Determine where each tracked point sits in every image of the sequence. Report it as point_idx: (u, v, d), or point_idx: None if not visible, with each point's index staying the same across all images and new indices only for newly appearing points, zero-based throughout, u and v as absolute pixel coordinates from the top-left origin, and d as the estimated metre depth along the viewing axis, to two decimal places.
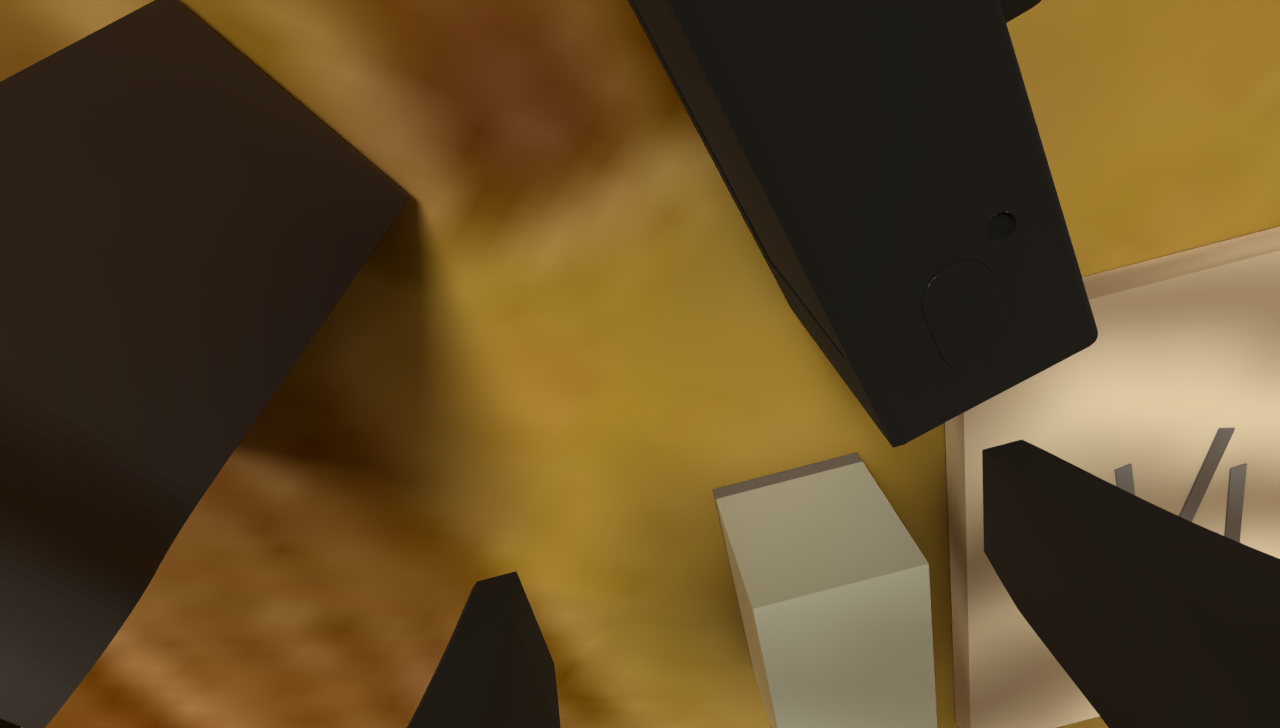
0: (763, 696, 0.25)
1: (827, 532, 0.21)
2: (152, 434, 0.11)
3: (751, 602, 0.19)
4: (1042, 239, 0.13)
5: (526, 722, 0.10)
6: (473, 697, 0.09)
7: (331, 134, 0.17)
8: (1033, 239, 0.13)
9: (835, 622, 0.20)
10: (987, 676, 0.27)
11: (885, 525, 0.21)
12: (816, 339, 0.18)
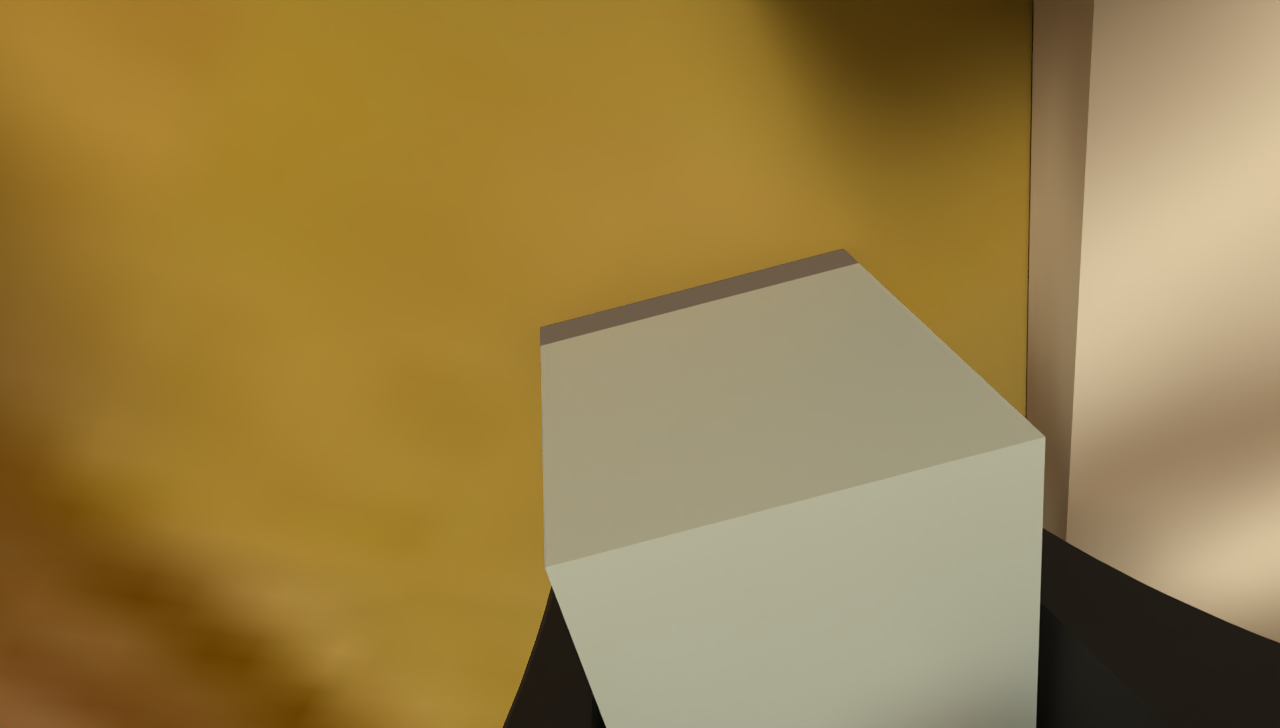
0: None
1: (771, 386, 0.08)
2: None
3: (547, 550, 0.07)
4: None
5: None
6: (580, 669, 0.09)
7: None
8: None
9: (785, 607, 0.07)
10: None
11: (916, 364, 0.08)
12: None
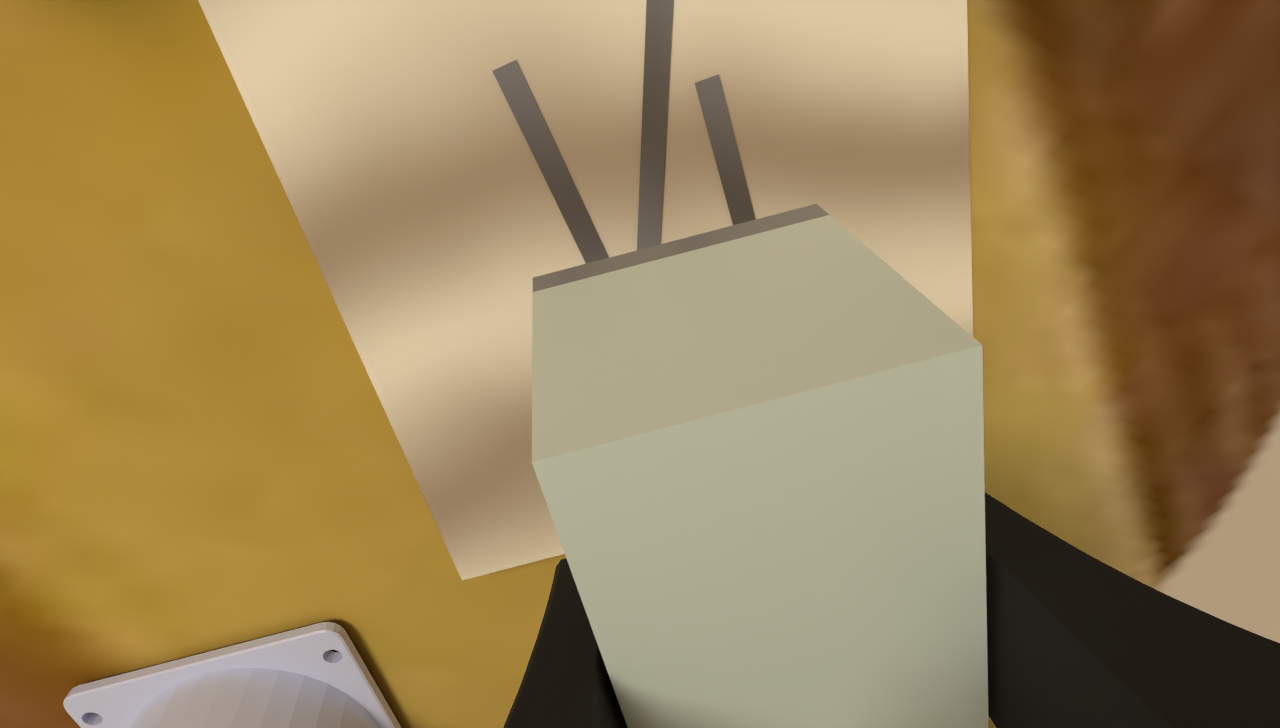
0: None
1: (742, 315, 0.09)
2: None
3: (534, 449, 0.08)
4: None
5: None
6: (581, 669, 0.09)
7: None
8: None
9: (750, 506, 0.08)
10: (434, 455, 0.19)
11: (873, 293, 0.09)
12: None
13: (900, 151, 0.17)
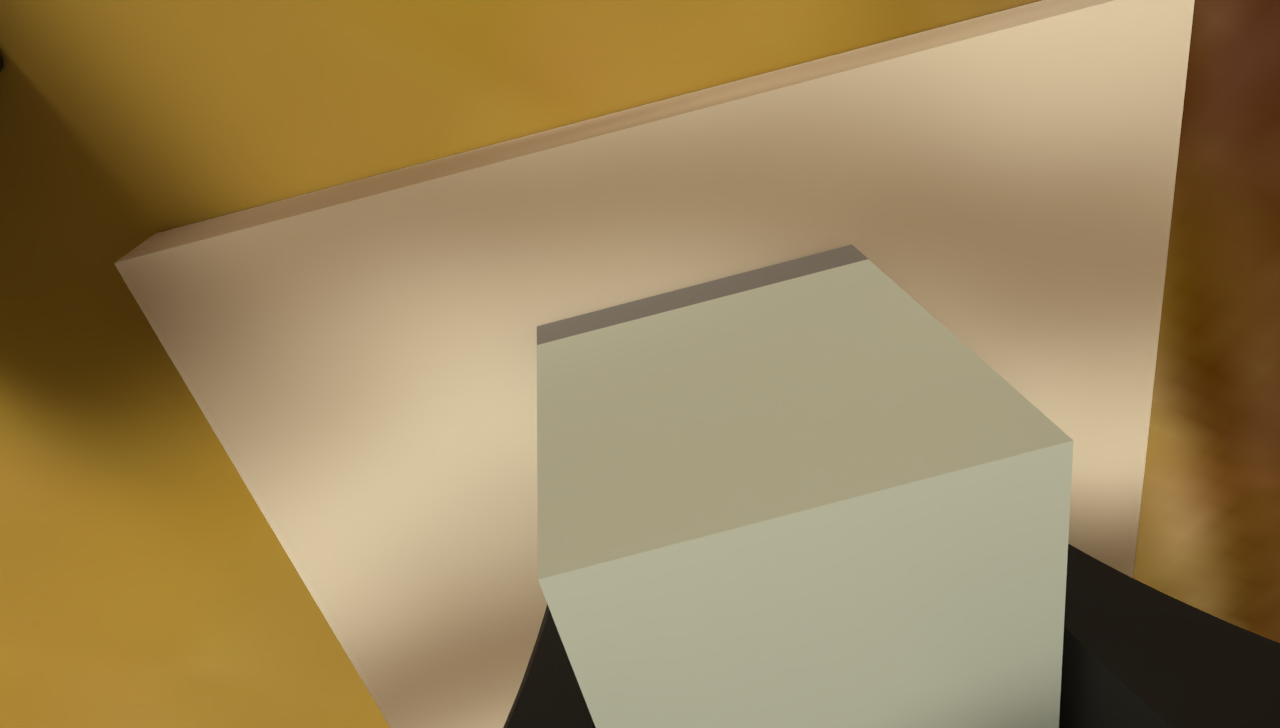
0: None
1: (778, 386, 0.08)
2: None
3: (540, 561, 0.07)
4: None
5: None
6: None
7: None
8: None
9: (794, 622, 0.07)
10: None
11: (931, 364, 0.08)
12: None
13: None
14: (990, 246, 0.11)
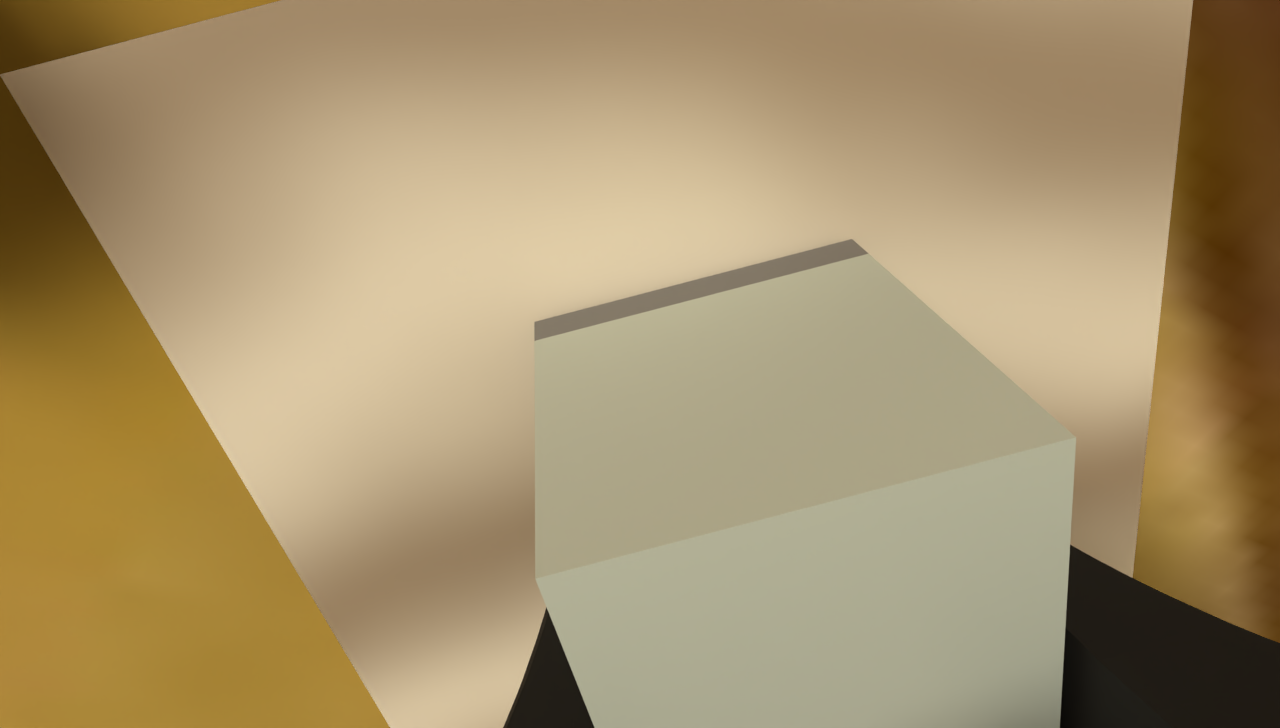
0: None
1: (777, 383, 0.08)
2: None
3: (538, 560, 0.06)
4: None
5: None
6: None
7: None
8: None
9: (794, 621, 0.07)
10: None
11: (932, 358, 0.08)
12: None
13: None
14: (986, 80, 0.10)
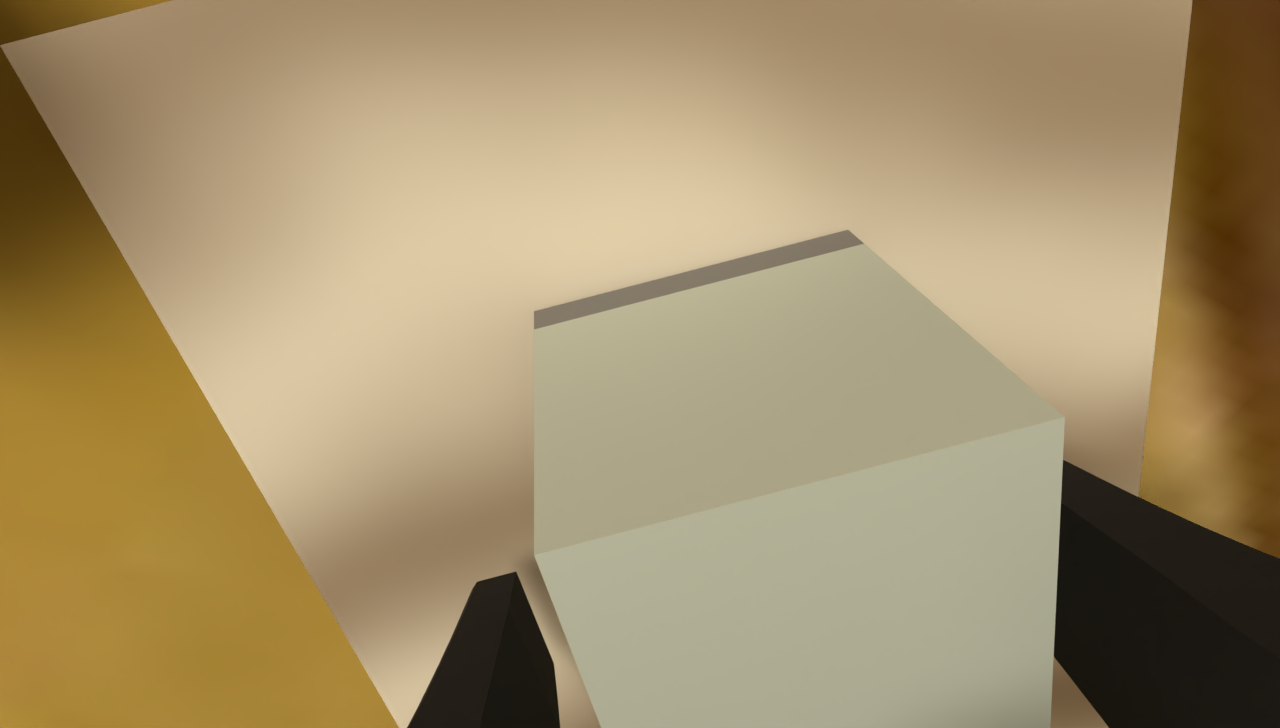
0: None
1: (772, 367, 0.08)
2: None
3: (536, 537, 0.07)
4: None
5: (526, 722, 0.10)
6: (473, 697, 0.09)
7: None
8: None
9: (788, 598, 0.07)
10: None
11: (926, 344, 0.08)
12: None
13: None
14: (987, 58, 0.10)
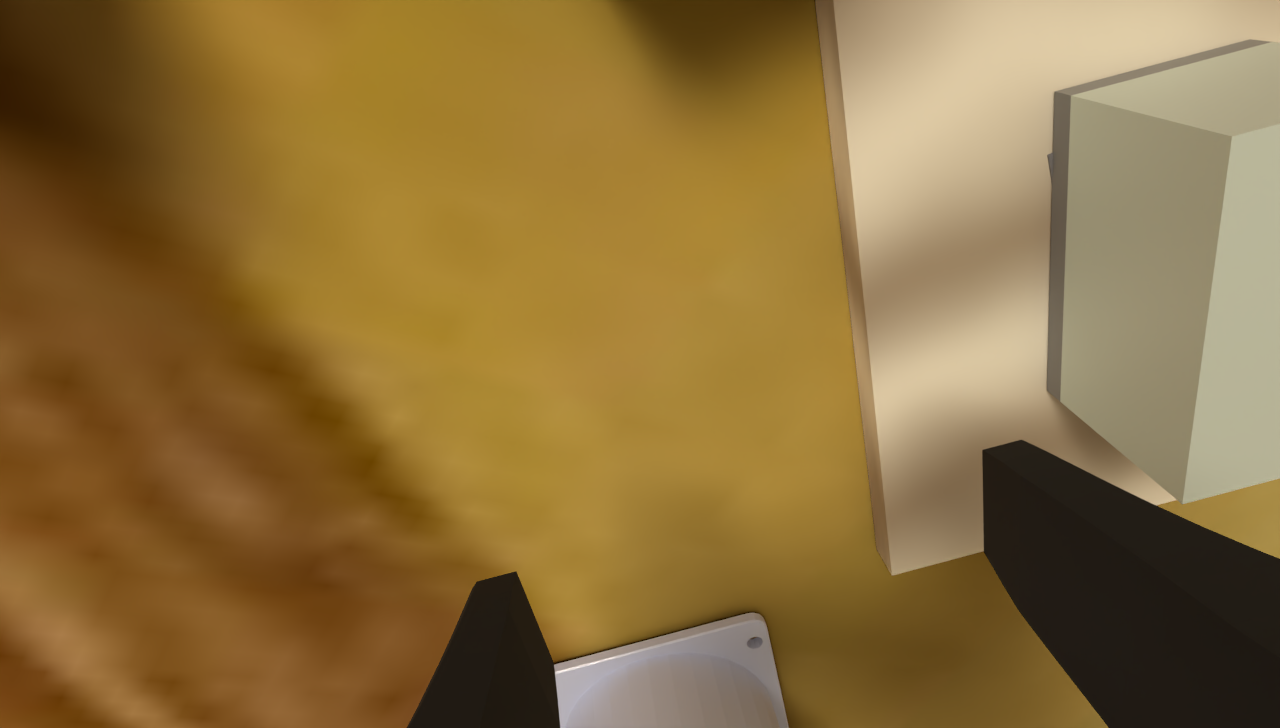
0: (1107, 395, 0.18)
1: None
2: None
3: (1223, 134, 0.13)
4: None
5: (526, 722, 0.10)
6: (473, 697, 0.09)
7: None
8: None
9: None
10: (904, 468, 0.22)
11: None
12: None
13: None
14: None
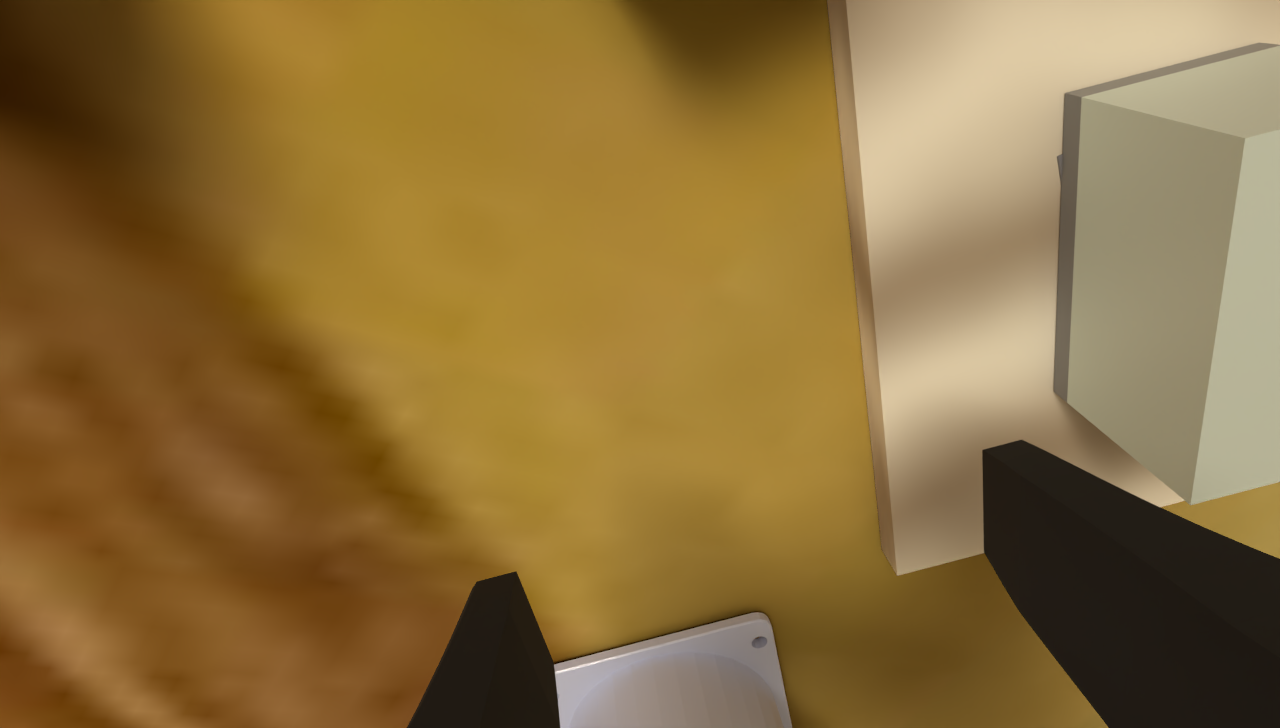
0: (1115, 396, 0.18)
1: None
2: None
3: (1236, 135, 0.13)
4: None
5: (526, 722, 0.10)
6: (473, 697, 0.09)
7: None
8: None
9: None
10: (910, 468, 0.22)
11: None
12: None
13: None
14: None
